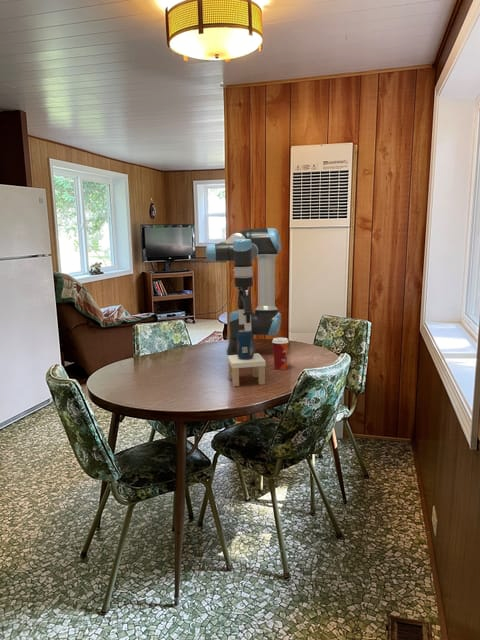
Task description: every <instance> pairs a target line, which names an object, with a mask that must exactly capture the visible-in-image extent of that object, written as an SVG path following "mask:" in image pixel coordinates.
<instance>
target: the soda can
mask: <svg viewBox="0 0 480 640" xmlns="http://www.w3.org/2000/svg"><path fill="white" fill-rule="evenodd" d="M254 342H255V341H254V335H253V333H252V330H251V331H245V329H241V330H238V333H237V354H238V357H239V359H242V360H249V359H252V358H253V356H254V346H255V344H254Z"/></svg>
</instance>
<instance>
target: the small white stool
mask: <svg viewBox="0 0 480 640" xmlns="http://www.w3.org/2000/svg"><path fill="white" fill-rule="evenodd" d="M226 358H227V359H226V360H227V365H228V370H227V371H228V379H229V380H232V387H233V388H236V387H235V386H238V387H240V376H239V375H240V373H239V372H240V368H242V369H243V368H252V371H253V372H252V376H253V377H254V378H257V383H258V385H260V386H261V385H266V359H264V358H263V357H262V355H261V354H260V353H259V352H258V353H257V352H256V353H254V356H253V358H252V359H249V360H242V359H239V357H238V355H227V354H226Z"/></svg>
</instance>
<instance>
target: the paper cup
mask: <svg viewBox="0 0 480 640" xmlns="http://www.w3.org/2000/svg"><path fill="white" fill-rule="evenodd" d="M271 343H272V351H273V364H274V369H275V370H277V371H284V370H287V368H288V351H289V350H288V349H289V339H288V338H287V337H274V338H272V341H271Z"/></svg>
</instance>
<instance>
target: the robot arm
mask: <svg viewBox="0 0 480 640" xmlns="http://www.w3.org/2000/svg"><path fill="white" fill-rule="evenodd" d="M281 251H282V242H281V237H280V234H279V231H278V229H277V228H275V227H272V228H271V227H264V228H246V229H242V230H239V231H235V232H234V233H231V235H230V236H229V237H228V238H226V239H225V240H223V241H220V242H219V243H210V244H207V245H206V247H205V258H206V259H207V261H209V262H215V263H217V262H233V269H232V272H234V273H233V274H234V275H233V276H234V277H235V278H234V287H236V288H237V290H238V291H237V292H238V294H237V308H238V310H235V311H234V310H233V311H232V312H231V311H230V313H229V315H228V316H229V317H228V318H229V319H228V323H229V324H228V325H229V343H228V346H227V349H226V356H227V355H238V354H237V333H238V330H241V329H245V331H251V330H252V333H253V336H276V335H277V334H279V331H280V328H281V324H282V313H281V312H279V309H278V307H276V300H275V299H276V298H275V297H276V288H275V287H276V284H275V283H276V282H275V281H276V277H275V276H276V274H275V273H276V269H275V265H276V264H275V263H276V262H275V261H276V258H277V257H278V256H279V254H278V252H281ZM256 258H257V307H256V308H254V311H255V312H254V311H253V309H252V301H251V290H250V289H249V287H252V286H253V285H254V284H253V283H254V282H253V277H252V276H253V271H254V270H253V260H255V259H256ZM254 353H257V349H256V347H255V345H254Z"/></svg>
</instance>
